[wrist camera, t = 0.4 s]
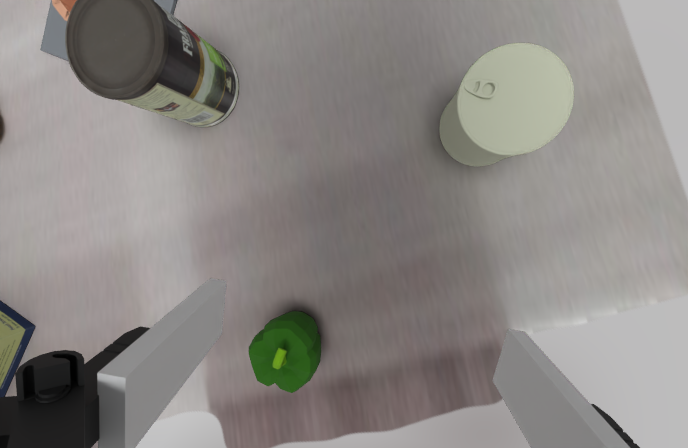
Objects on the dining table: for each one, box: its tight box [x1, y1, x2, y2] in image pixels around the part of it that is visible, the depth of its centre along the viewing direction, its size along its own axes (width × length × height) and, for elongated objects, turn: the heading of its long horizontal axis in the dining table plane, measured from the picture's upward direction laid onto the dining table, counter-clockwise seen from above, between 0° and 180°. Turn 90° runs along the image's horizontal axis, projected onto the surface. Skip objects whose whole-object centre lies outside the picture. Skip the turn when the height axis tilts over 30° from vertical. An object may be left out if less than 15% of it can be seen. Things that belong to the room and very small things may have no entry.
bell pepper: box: [249, 311, 321, 393], centre depth 40 cm, size 8×8×10 cm
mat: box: [40, 0, 177, 61], centre depth 44 cm, size 18×18×1 cm
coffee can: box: [65, 0, 239, 127], centre depth 36 cm, size 10×10×14 cm
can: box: [439, 43, 574, 166], centre depth 32 cm, size 9×9×12 cm
